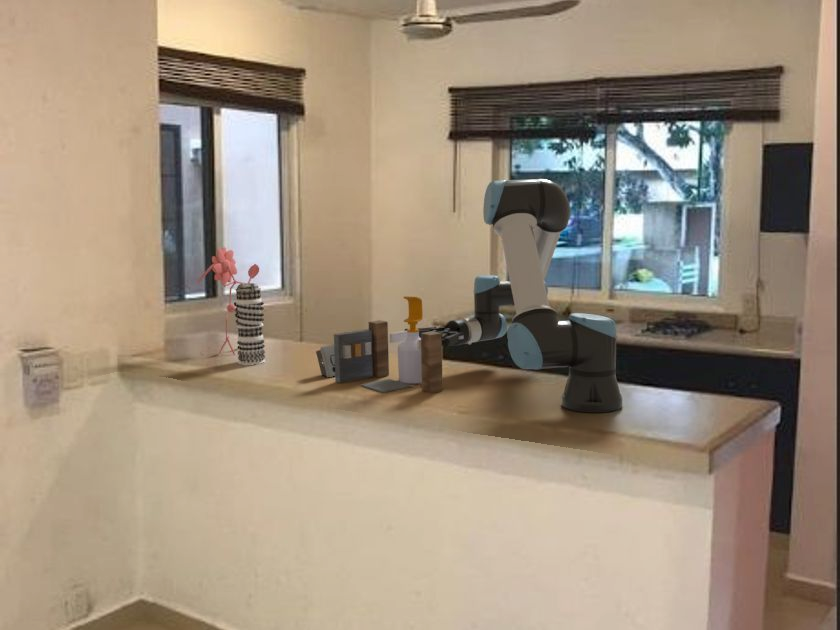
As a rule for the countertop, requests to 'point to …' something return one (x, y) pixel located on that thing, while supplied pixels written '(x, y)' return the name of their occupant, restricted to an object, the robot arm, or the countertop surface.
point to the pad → (386, 385)
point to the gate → (429, 355)
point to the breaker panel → (353, 355)
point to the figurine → (227, 277)
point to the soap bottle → (411, 346)
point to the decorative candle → (249, 324)
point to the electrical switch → (326, 360)
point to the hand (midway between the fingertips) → (403, 341)
